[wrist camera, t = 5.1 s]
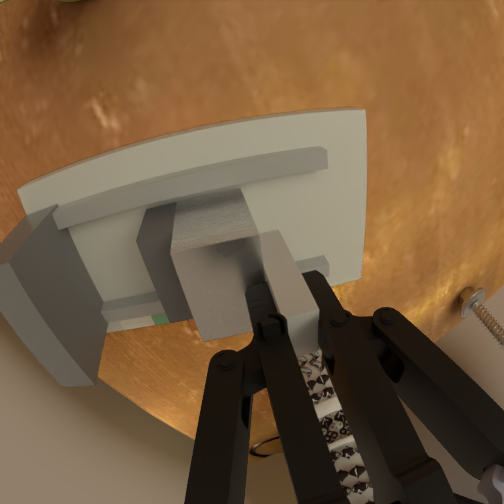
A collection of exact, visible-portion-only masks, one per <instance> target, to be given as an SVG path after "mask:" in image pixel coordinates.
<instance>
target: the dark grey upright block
mask: <svg viewBox="0 0 504 504" xmlns="http://www.w3.org/2000/svg"><path fill="white" fill-rule="evenodd" d="M176 204H177V202H173V203H169V204H165V205H161V206H157V207H153V208H149V209H146V212H145V214H144V217H143V220H142V223H141V226H140V229H139V232H138V235H137V239H136V243H137V245H138V248H139V251H140V253H141V256H142V258H143V261H144V263H145V266H146V268H147V271H148V273H149V276H150V278H151V281H152V283H153V285H154V288H155V290H156V292H157V295H158V297H159V299H160V302H161V304H162V306H163V308H164V311H165V313H166V315H167V317H168V319H169V322H170V323H173V322H179V321H184V320H188V322H189V325H190V327H191V330H192V331H195V330H198V328H197V326H196V323H195V321H194V318H193V315H192V313H191V310H190V307H189V305H188V302H187V299H186V297H185V294H184V291H183V289H182V286H181V283H180V280H179V277H178V275H177V272H176V269H175V266H174V263H173V260H172V257H171V254H170V251H171V242H172V234H173V226H174V218H175V211H176Z"/></svg>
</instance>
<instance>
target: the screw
mask: <svg viewBox="0 0 504 504" xmlns="http://www.w3.org/2000/svg"><path fill="white" fill-rule="evenodd" d="M484 299H485V290H484V289H483V288H478V289H476V290H474V289H473V288H472V287H468V288H465V290H464V291H463V292H462V293H461V294H460V296H459V301H458V302H459V303H460V304H461V305H462V306H461V309H460V316H461V317H463V318H465V317H469V316H471V315H473V314H474V315H476V318H479V319H478V320H479V321H481V324H484V325H483V326H484V327H486V330H489V331H488V332H489V333H491V336H494V337H493V338H494V339H496V342H498V344H499V345H501V348H504V329H502V326H500V325H499V323H497V320H495V319H494V317H492V314H489V311H487V309H485V308H484V305H483V306H482V303H483V301H484Z"/></svg>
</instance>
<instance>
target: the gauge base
mask: <svg viewBox="0 0 504 504" xmlns="http://www.w3.org/2000/svg"><path fill="white" fill-rule="evenodd" d="M237 188H241V190H242V193H243V195H244V198H245V200H246V203H247V205H248V208H249V210H250V212H251V215H252V217H253V220H254V222H255V225H256V227H257V230H258V232H259V234H260V233H264V232H269V231H274V230H279V231H280V233H281V235H282V237H283V239H284V241H285V243H286V245H287V247H288V249H289V251H290V252H291V254H292V256H293V258H294V260H295V262H296V264H297V266H298V268H299V270H300V272H301V273H305V272H309V271H313V270H317V271H319V272H320V273H321V274H323V275H324V277H325V278H326V280H327V282H328V283H329V285H330V287H332V286H335V285H339V284H343V283H347V282H351V281H354V280H358V279H361V271H362V261H363V249H364V235H365V218H366V194H367V131H366V110H365V109H361V108H357V107H344V108H328V109H315V110H304V111H294V112H285V113H277V114H269V115H262V116H255V117H249V118H243V119H237V120H231V121H225V122H220V123H215V124H210V125H205V126H200V127H195V128H191V129H186V130H182V131H178V132H174V133H170V134H166V135H162V136H158V137H154V138H150V139H147V140H143V141H140V142H136V143H133V144H129V145H126V146H123V147H120V148H116V149H113V150H110V151H107V152H104V153H101V154H98V155H95V156H92V157H89V158H86V159H84V160H81V161H78V162H75V163H73V164H70V165H68V166H65V167H62V168H60V169H57V170H55V171H52V172H50V173H48V174H45V175H43V176H40V177H38V178H36V179H34V180H31V181H29V182H27V183H25V184H24V185H23V186H21V187H20V188H19V189H18V190H17V192H18V195H19V197H20V200H21V202H22V205H23V207H24V210H25V212H26V215H27V216H26V217H25V218H24V219H23V220H22V221H21V222H20V223H19V224H18V225H17V226H16V227H15V228H14V229H13V230H12V231H11V232H10V234H9V235H8V236H7V237H6V238H5V239H4V240H3V241H2V243H1V244H0V311H1V312H2V314H3V316H4V317H5V319H6V320H7V321H8V323H9V324H10V326H11V327H12V328H13V330H14V331H15V332H16V334H17V335H18V336H19V337H20V339H21V340H22V341H23V343H24V344H25V345H26V347H27V348H28V349H29V350H30V351H31V353H32V354H33V355H34V356H35V357H36V359H37V360H38V361H39V362H40V363H41V364H42V366H43V367H44V368H45V369H46V370H47V371H48V372H49V373H50V374H51V376H52V377H53V378H54V379H55V380H56V381H57V382H58V383H59V384H60V385H61V386H62V387H73V386H92V385H96V380H97V374H98V369H99V364H100V359H101V354H102V349H103V345H104V340H105V336H106V333H110V332H116V331H123V330H129V329H135V328H141V327H147V326H152V325H161V324H167V323H170V322H169V319H168V317H167V315H166V313H165V311H164V308H163V306H162V304H161V302H160V299H159V297H158V295H157V292H156V290H155V288H154V285H153V283H152V281H151V278H150V276H149V273H148V271H147V268H146V266H145V263H144V261H143V258H142V256H141V253H140V251H139V248H138V245H137V243H136V239H137V235H138V232H139V229H140V226H141V223H142V220H143V217H144V214H145V212H146V209H149V208H153V207H157V206H161V205H165V204H169V203H173V202H177V201H182V200H186V199H190V198H195V197H199V196H204V195H208V194H213V193H218V192H222V191H227V190H232V189H237Z"/></svg>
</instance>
